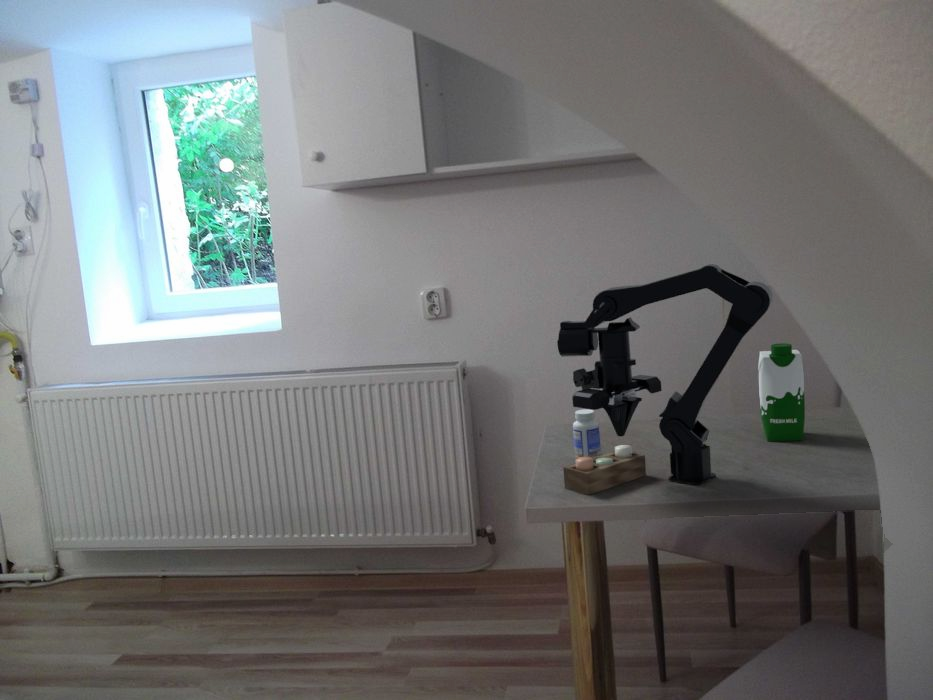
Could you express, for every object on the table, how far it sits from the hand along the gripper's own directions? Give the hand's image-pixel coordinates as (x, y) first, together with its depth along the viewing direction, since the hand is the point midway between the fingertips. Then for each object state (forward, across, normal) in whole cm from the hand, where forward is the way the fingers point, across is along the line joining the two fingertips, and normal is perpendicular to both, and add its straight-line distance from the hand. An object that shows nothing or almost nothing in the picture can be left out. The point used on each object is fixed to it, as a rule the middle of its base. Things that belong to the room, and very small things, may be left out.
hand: (620, 435), depth 160 cm
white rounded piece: (+5, -1, 0) cm, 5 cm away
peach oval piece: (+5, +10, 0) cm, 11 cm away
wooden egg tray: (+8, +5, 0) cm, 9 cm away
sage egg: (+6, +5, 0) cm, 7 cm away
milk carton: (+8, -40, +8) cm, 42 cm away
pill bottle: (+8, -5, -15) cm, 18 cm away
